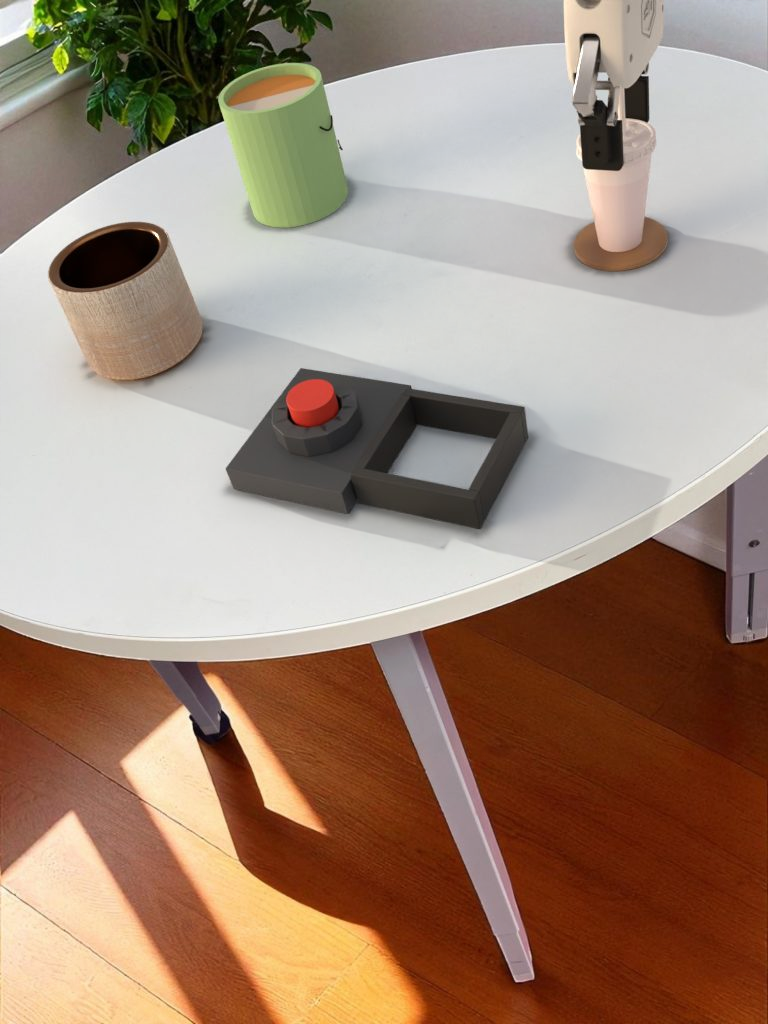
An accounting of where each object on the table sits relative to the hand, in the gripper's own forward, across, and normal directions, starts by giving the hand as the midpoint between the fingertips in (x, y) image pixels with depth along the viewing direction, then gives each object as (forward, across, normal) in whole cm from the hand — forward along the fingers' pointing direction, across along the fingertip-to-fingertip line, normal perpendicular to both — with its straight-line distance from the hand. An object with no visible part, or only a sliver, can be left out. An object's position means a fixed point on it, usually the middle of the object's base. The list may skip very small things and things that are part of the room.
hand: (616, 143), depth 87 cm
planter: (+10, -22, +37) cm, 44 cm away
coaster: (+10, 0, 0) cm, 10 cm away
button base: (+10, -30, +14) cm, 34 cm away
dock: (+10, -30, +4) cm, 32 cm away
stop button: (+6, -30, +14) cm, 34 cm away
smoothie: (+9, 0, 0) cm, 9 cm away
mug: (+10, +4, +35) cm, 37 cm away
